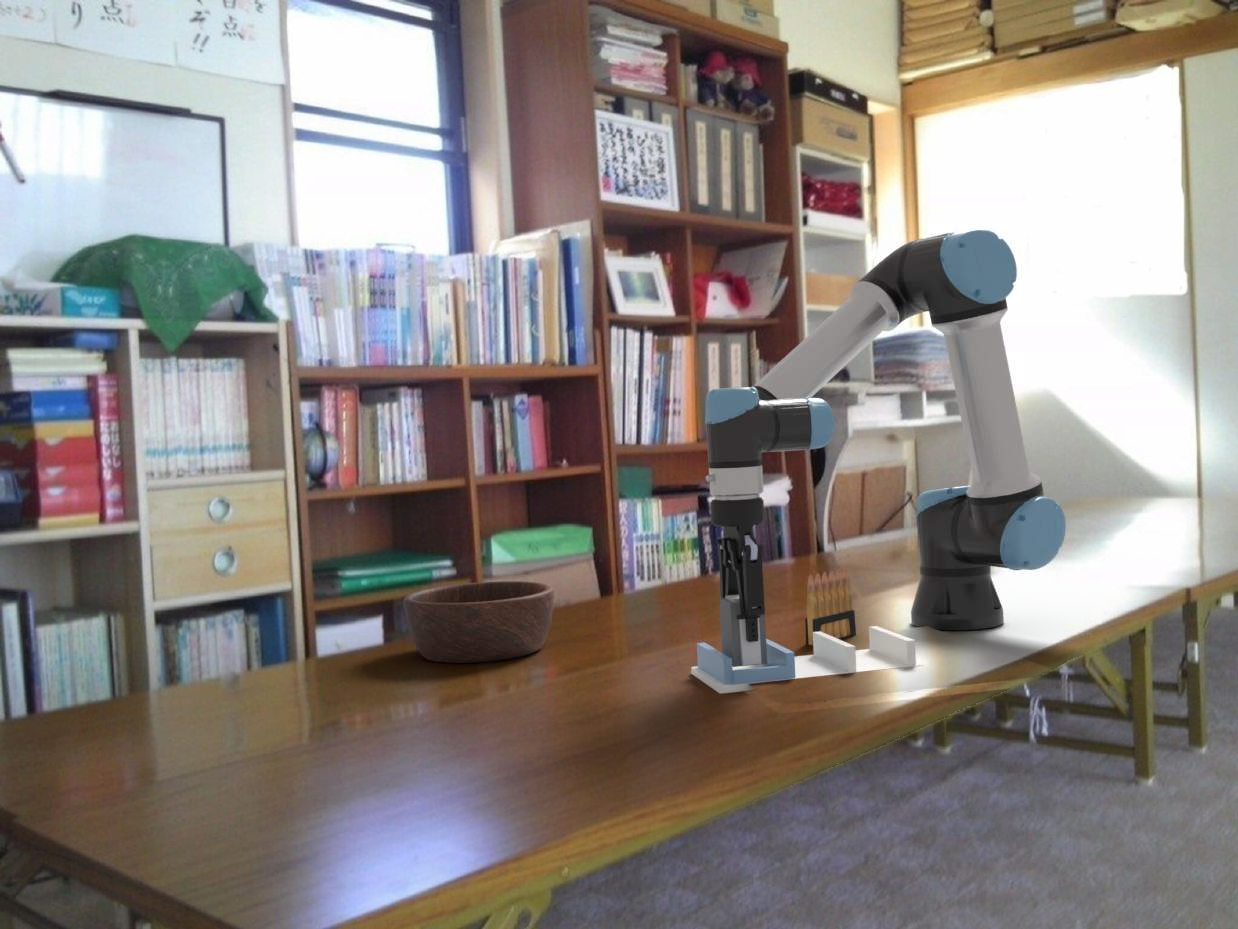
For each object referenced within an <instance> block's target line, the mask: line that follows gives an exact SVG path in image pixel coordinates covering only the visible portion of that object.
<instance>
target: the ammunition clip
mask: <svg viewBox="0 0 1238 929" xmlns="http://www.w3.org/2000/svg"><path fill="white" fill-rule="evenodd" d="M850 584H851V582H850V575H849V572H848V569H847V568H846V567H844V568H843V571H842V573H841V570H840V568H837V569H836V572H835V573H834V572H833V570H832V569H831V570H830V571H829V574H828V575H827V573H826V571H823V573H822V576H820V574H819V573H818V572H817V573H816V574H815V578H813V575H812V574H811V573H810V574H809V575H808V580H807V586H806V587H807V589H806V590H807V593H806V597H807V598H806V617H807V618H805V620H804V621H805V622H804V623H805V626H804V628H805V645H806V646H809V645H810V646H813V632H819V631H821V632H823V633H825V634H828V635H830V636H832V637H835V638H837V639H839V640H842V639H847V638H849V637H853V636H857V628H856V627H857V626H856V617H855V616H856V614H855V609H853V597H852V596H853V595H852V591H851V585H850Z"/></svg>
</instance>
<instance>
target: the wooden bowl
mask: <svg viewBox="0 0 1238 929" xmlns="http://www.w3.org/2000/svg"><path fill="white" fill-rule="evenodd" d="M554 594H555V591H554V588H553V587H552V586H551V585H550V584H548V583H542V582H535V581H518V580H517V581H513V580H509V581H508V580H506V581H499V580H498V581H482V582H469V583H467V582H466V583H458V584H449V585H443V586H437V587H436V586H435V587H431V588H425V589H422V590H417V591H414V592H411V593H409V594H407V595H405V597H404V599H403V608H404V613H405V614H404V615H405V618H406V623H407V627H408V630H409V634H410V637H411V639H412V642H413V644H414V646H415V648H416V649H417V651H418V652H419V654H420V655H421V656H422V657H423V658H424V659H426V660H427V661H428V660H429V661H433V662H438V663H444V664H445V663H447V664H449V663H450V664H472V663H489V662H498V661H505V660H511V659H515V658H516V659H517V658H521V657H525V656H528V655H530V654H533V653H536V652H537V651H539V650H540V649H541V648H542V647H543V645H544V643H545V642H546V640H547V637H548V635H549V632H550V629H551V625H552V620H553V619H552V618H553V611H554V598H555V596H554Z"/></svg>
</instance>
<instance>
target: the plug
mask: <svg viewBox="0 0 1238 929" xmlns="http://www.w3.org/2000/svg"><path fill="white" fill-rule="evenodd" d="M719 612H720V613H719V614H720V615H719V616H720V635H721V652H722V653H723V654H725V655H727V656H728V657H730V658H732V666H733V667H738V666H748V665H741V647H740V627H739V620H738V619H737V617H736V616H737V615H741V608H740V600H739V594H738V595H727V596H726V598H721V597H720V598H719ZM759 625H760V645H761V664H767V646H766V639H767V633H766V629H767V628H766V613H765V614H764V615H761V616H760V618H759ZM752 665H758V664H752Z"/></svg>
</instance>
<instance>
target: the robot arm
mask: <svg viewBox="0 0 1238 929" xmlns="http://www.w3.org/2000/svg"><path fill="white" fill-rule="evenodd" d="M1017 268H1018V267H1017V263H1016V259H1015V256H1014V253H1013V251H1012V249H1011V248H1010V246H1009V244H1008V243H1007V242H1006V240H1005V239H1003V237H1001V236H998V235H997V233H995V231H992V230H990V229H987V228H983V227H973V228H962V229H958V228H957V229H956V230H954V231H950V232H945V233H942V234H937V235H933V236H929V237H925V238H918V239H914V240H911V241H909V242H907V243H904V244H903V245H900V246H899V247H898V248H897V249H895V250H894V251H892V252H891V253H890V254H888V255H887V256H886V257H885V258H883V259H882V260H881V261H880V262H878V263H877V264H876V265H875V266H874V267H873V268H872V269H870V270H869V271H868V272H867V273H866V274H865V275H863V277H861V278H860V279H859V280H858V281H857V282H856V283H855V284H854V285H853V286H852V287H851V290H850V297H849V298H848V299H846V301H845V302H844V303H842V304H841V305H840V306H839V307H838V308H837V309H836V310H835V311H833V313H832V314H831V315H829V316H828V317H827V318H826V319H825V320H823V322H822V323H821V324H819V325H818V326H817V327H816V328H815V329H814V330H813V331H812V332H811V333H809V335H807V337H805V338H804V339H803V340H802V341H801V342H799V344H798V345H796V346H795V347H794V348H793V349H792V350H791V351H790V352H788V354H787V355H786V356H784V357H783V358H782V359H781V360H780V361H778V363H777V364H776V365H775V366H773V368H772V369H770V370H769V371H768V372H767V373H766V374H764V376H762V378H760V379H759V380H758V381H757V382H756V383H755V384H754V385H752V386H747V387H746V386H745V387H728V388H727V387H725V388H724V387H723V388H715V389H713V388H712V389H711V390H710V391H709V390H708V392H707V394H706V397H705V418H704V423H705V428H706V445H707V460H708V461H707V462H708V475H706V476H705V480H706V482H707V483H709V492H710V493H709V494H710V495H711V497H714V499H711V501H710V503H709V504H710V522H711V524H712V525H713V526H714V527H719V528H723V534H722V536H723V537H717V538H716V545H717V551H718V565H719V566H718V567H719V586H720V590H719V591H720V598H726V596H727V595H738V594H739V600H740V608H741V615H737V616H736V617H737V619H738V620H739V627H740V647H741V665H752V664H761V645H760V625H759V618H760V616H761V615H764V614H765V615H766V610H765V594H764V593H765V590H764V574H763V573H764V572H763V551H764V546H763V544H762V543H757V538H756V537H755V534H754V529H753V527H754V526H758V525H761V524H763V523H765V504H764V501H765V500H764V499H763V498H762V497H761V496H760V494H763V493H764V491H765V490H764V476H763V473H764V472H763V465H762V453H763V454H764V453H773V452H775V453H776V452H793V451H810V450H815V449H821V448H824V447H826V446H828V444H829V443H830V442H831V440H832V439H833V436H834V433H835V428H836V427H835V415H834V412H833V409H832V408H831V405H830V404H829V403H828V402H827V401H826V400H825V399H823V398H819V397H814V395H816V393H818V392H819V391H821V389H822V388H823V387H824V386H826V384H827V383H828V382H830V380H832V379H833V378H834V377H835V376H836V375H837V374H838V373H839V372H840V371H841V370H843V369H844V368H845V367H846V365H848V364H849V363H850V362H851V361H853V359H854V358H855V357H857V356H858V355H859V354H860V353H861V352H862V351H863V350H864V349H865V348H866V347H867V346H868V345H869V344H870V343H872V342H873V341H874V340H875V339H876V338H877V337H878V336H879V335H880V334H881V333H882V332H883V331H884V332H890V331H893V330H894V329H895V328H897V327H898V326H899V325H900V324H901V323H902V322H904V321H905V320H907V319H909V318H912V317H913V316H915V315H919V314H922V313H926V312H929V318H930V322H931V326H932V327H933V328H935V329H936V330H937V331H939V332H940V333H942V334H943V337H944V342H945V346H946V352H947V355H948V356H947V357H948V361H949V365H950V371H951V376H952V380H953V386H954V390H955V394H956V400H957V405H958V411H959V416H960V420H961V425H962V430H963V436H964V439H965V445H966V450H967V455H968V461H969V465H970V469H971V470H970V471H971V474H972V475H971V476H972V482H971V484H970V485H963V486H955V487H948V488H939V489H933V490H931V489H930V490H927V491H923V492H921V493H920V494H918V495H919V496H918V497H917V500H916V503H917V505H916V506H917V508H916V513H915V514H916V515H915V516H916V527H917V528H916V530H917V542H918V544H917V546H918V548H917V549H918V563H919V582H918V585H917V589H916V593H915V595H914V598H913V603H912V605H911V606H912V607H911V610H910V618H911V625H913V626H914V627H918V628H925V627H927V628H930V629H933V630H941V631H971V630H982V629H983V630H984V629H991V628H995V627H999V626H1001V625H1003V624H1004V618H1005V616H1004V608H1003V606H1002V603H1001V600H1000V597H999V594H998V592H997V589H996V587H995V584H994V582H993V579H992V573H991V570H992V569H991V568H992V567H993V568H994V567H995V568H996V567H997V568H1002V569H1009V570H1010V571H1011V570H1012V571H1023V570H1024V571H1025V570H1027V571H1035V570H1038V569H1041V568H1043V567H1046V566H1047V565H1049V564H1050V563H1051V562H1052V561H1053V560H1054V559H1055V558H1056V556H1057V555H1058V553H1059V550H1060V549H1061V547H1063V543H1064V541H1065V538H1066V537H1065V536H1066V533H1067V532H1066V531H1067V528H1066V526H1067V521H1066V516H1065V512H1064V511H1063V508H1062V507H1061V505H1060V504H1059V503H1057V502H1056V500H1055V499H1053V498H1051V497H1049V496H1046V495H1045V493H1044V487H1043V482H1042V479H1041V477H1040V476H1038V475H1037V474H1035V473H1033V472H1031V470H1030V468H1029V464H1028V458H1027V454H1026V447H1025V444H1024V438H1023V434H1022V428H1021V422H1020V418H1019V413H1018V412H1019V411H1018V409H1017V408H1018V407H1017V403H1016V402H1017V401H1016V397H1015V396H1016V395H1015V392H1014V387H1013V380H1012V377H1011V372H1010V371H1011V370H1010V366H1009V362H1008V357H1007V351H1006V347H1005V341H1004V336H1003V331H1002V326H1001V321H1002V318H1003V317H1004V316H1005V314H1006V313H1007V312H1008V302H1007V297H1008V296H1009V295H1010V294H1011V293H1012V292H1013V289H1014V288H1015V285H1014V283H1015V282H1016V281H1017V277H1018V276H1017V275H1018V270H1017Z"/></svg>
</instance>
